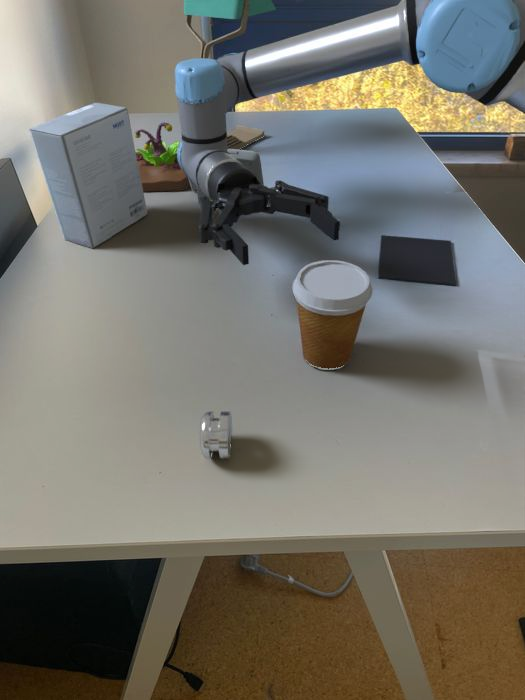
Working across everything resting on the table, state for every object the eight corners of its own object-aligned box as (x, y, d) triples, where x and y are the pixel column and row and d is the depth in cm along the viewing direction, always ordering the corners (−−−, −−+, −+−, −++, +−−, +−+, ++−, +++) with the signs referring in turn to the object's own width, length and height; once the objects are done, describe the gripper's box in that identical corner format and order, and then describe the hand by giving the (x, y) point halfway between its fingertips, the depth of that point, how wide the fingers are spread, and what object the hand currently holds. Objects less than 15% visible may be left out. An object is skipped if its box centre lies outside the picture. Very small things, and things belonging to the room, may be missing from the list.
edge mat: (450, 242, 91) (450, 240, 91) (455, 286, 80) (456, 284, 80) (381, 236, 93) (381, 234, 93) (378, 278, 83) (378, 276, 82)
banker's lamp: (179, 151, 128) (158, -23, 105) (230, 128, 140) (221, -32, 118) (230, 164, 121) (219, -20, 98) (279, 138, 133) (279, -29, 111)
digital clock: (269, 197, 106) (268, 145, 99) (248, 215, 100) (246, 161, 93) (202, 184, 112) (197, 134, 105) (179, 200, 106) (172, 148, 99)
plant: (194, 195, 108) (187, 140, 100) (106, 190, 111) (94, 136, 103) (216, 160, 123) (213, 110, 115) (139, 156, 125) (130, 107, 118)
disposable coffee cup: (363, 336, 72) (374, 261, 64) (361, 383, 64) (373, 305, 57) (295, 329, 73) (297, 255, 65) (286, 375, 66) (287, 298, 58)
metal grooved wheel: (229, 468, 55) (226, 437, 52) (201, 467, 55) (197, 437, 52) (232, 432, 59) (230, 401, 56) (206, 431, 59) (202, 401, 56)
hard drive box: (119, 206, 104) (97, 101, 91) (149, 215, 101) (130, 107, 88) (61, 240, 94) (27, 126, 81) (92, 250, 91) (62, 134, 78)
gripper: (296, 191, 89) (368, 246, 74) (156, 223, 80) (206, 291, 66) (298, 147, 84) (375, 196, 69) (149, 176, 76) (201, 239, 61)
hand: (293, 243), depth 68 cm, fingers open, 13 cm apart
